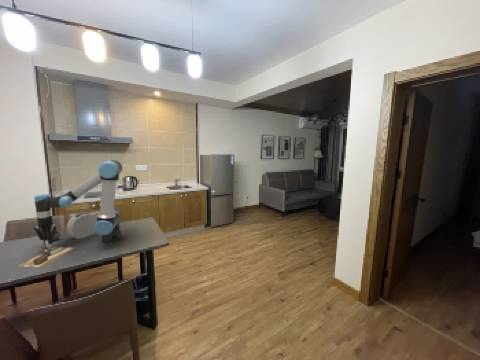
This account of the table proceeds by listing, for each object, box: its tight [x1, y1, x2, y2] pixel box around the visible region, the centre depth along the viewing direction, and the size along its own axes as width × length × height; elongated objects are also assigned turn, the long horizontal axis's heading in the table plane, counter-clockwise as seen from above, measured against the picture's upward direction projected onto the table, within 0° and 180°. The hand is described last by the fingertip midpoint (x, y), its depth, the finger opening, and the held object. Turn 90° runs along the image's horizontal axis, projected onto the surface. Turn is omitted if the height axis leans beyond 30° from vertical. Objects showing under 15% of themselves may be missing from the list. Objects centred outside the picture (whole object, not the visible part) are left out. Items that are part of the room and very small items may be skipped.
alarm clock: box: [65, 211, 97, 240], centre depth 173 cm, size 21×8×20 cm, turn 159°
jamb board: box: [18, 246, 76, 268], centre depth 138 cm, size 16×25×5 cm, turn 179°
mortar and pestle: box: [51, 228, 61, 242], centre depth 161 cm, size 11×9×12 cm
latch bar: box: [39, 244, 51, 256], centre depth 141 cm, size 13×4×4 cm, turn 54°
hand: (48, 248), depth 146 cm, fingers closed
